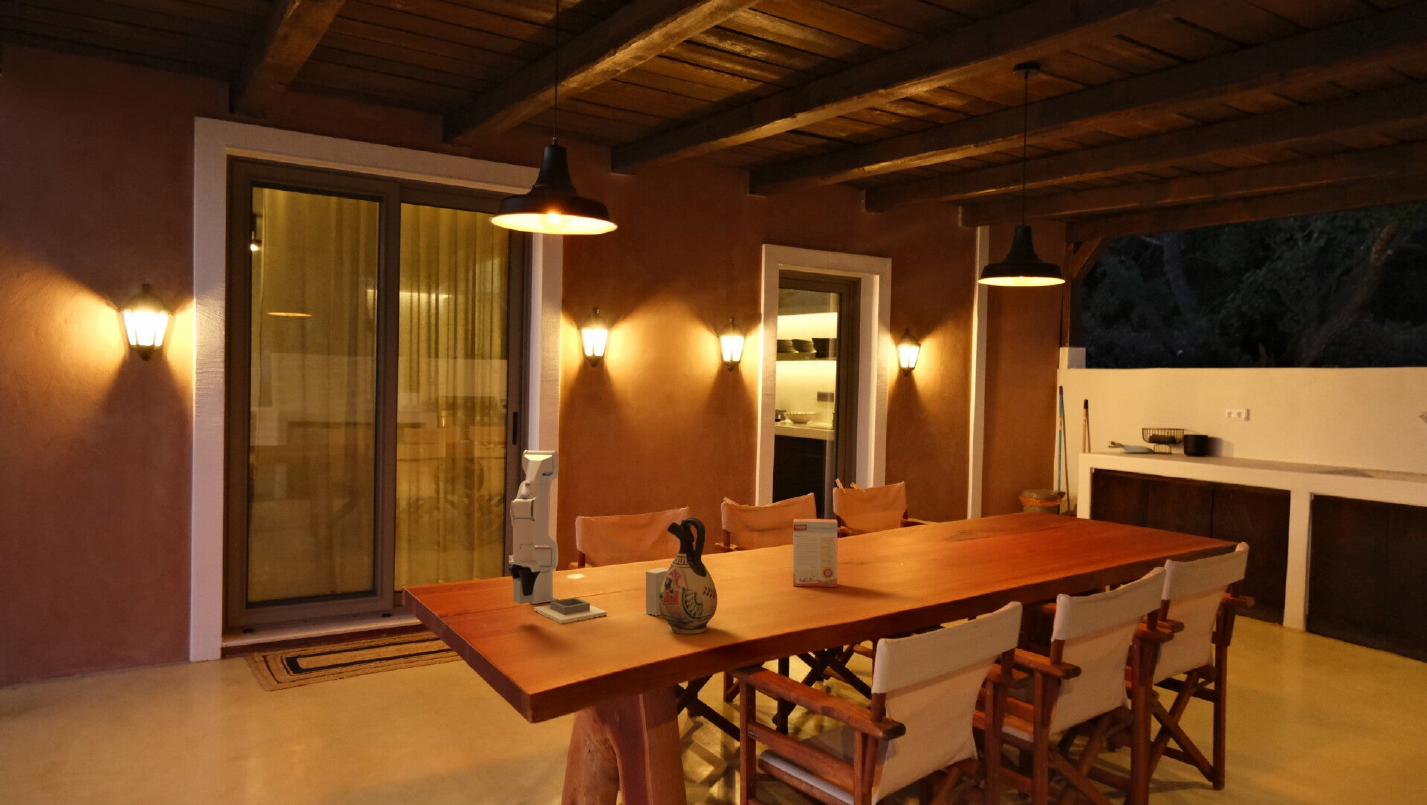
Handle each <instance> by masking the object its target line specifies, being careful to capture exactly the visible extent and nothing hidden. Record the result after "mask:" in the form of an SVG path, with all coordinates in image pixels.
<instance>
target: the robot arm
mask: <svg viewBox="0 0 1427 805" xmlns="http://www.w3.org/2000/svg"><path fill="white" fill-rule="evenodd" d="M559 461H560V460H559V452H558V451H557V450H556V449H554V450H531V449H530V450H528V449H525V450H524V451H523V453H522V457H521V462H522V464H521V465H522V469H523V471H524V473H525V475H526V476H525V480H523V481H522V482H521V483H520V485H519V487H518V491H517V493H516V494H517V495H516V498H515V499H514V500H511V503H510V511H509V513H510V514H509V515H510V520H511V527H512V540H513V541H512V555H508V564H510V565H509V566H507V569H508V572H509V573H510V575H511V578H512V581H513V582H514V579H515V578H521V582H522V590H523V595H524V596H529V595H532V592H533V588H534V602H530V603H531V604H534V605H536V604H542V603H548V602H551V601H557V600H559V597H556V596H554V593H553V592H554V590H553V588H554V586H553V584H554V582H553V580H554V579H553V578H554V577H553V576H554V572H553V571H554V569H556V568H557V567H558V564H559V550H558V548H559V544H558V543H557V541H556V540H555V539H554V538H553V537H551V536H550V535H549V534H550V533H549V532H550V511H551V509H550V507H551V488H552V487H551V486H552V481H553V480H556V479H557V478H558V475H559V464H560V463H559ZM535 546H536V547H535ZM540 546H541V547H540ZM542 546H543V547H542ZM546 546H549V547H546Z"/></svg>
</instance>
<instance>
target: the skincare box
mask: <svg viewBox="0 0 1427 805" xmlns="http://www.w3.org/2000/svg"><path fill="white" fill-rule="evenodd" d="M668 569H669V568H663V567H658V568H653V569H650V570H646V571H645V615H646V614H647V615H650V614H652V615H651V616H654V615H655V616H654V617H657V615H658V616H661V615H662V614H661V612H660V608H659V593H660V588H661V584H662V580H663V578H664V576H665V574H666V572H667V571H668ZM660 614H661V615H660Z"/></svg>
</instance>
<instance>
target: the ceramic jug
mask: <svg viewBox="0 0 1427 805" xmlns="http://www.w3.org/2000/svg"><path fill="white" fill-rule="evenodd" d="M692 526H693V527H694V528H695V530H696V539H695V535H694V533H693V531H692V529H691V527H692ZM666 531H667V532H668V533H669V534H671V535H673V536H675V538H677V539H678V540H679V543H680V545H679V550H678V552H677V554H676V556H675V558H674V559H673V560H672V562H671V564H670V565H669V567H668V568H667V569H668V571H667V572H666V574H665V576H664V578H663V580H662V584H661V588H660V593H659V608H660V612H661V615H662V618H664V620H665V621H666V622H667V624H668V625H669V626H670V628H671V631H672V632H674V633H676V632H678V633H677V634H681V635H682V634H686V635H687V634H688V635H694V634H701V633H704V632H705V631H706V630H707V629H708V625H707V624H709V622H710V621H711V620H712V618H713V617H714V616H715V614H716V611H717V608H718V593H717V589H716V586H715V582H714V580H713V577H712V576H711V573H710V571H709V570H708V568H707V567H706V565H705V564H704V562H703V561H702V556H703V555H702V554H703V552H704V546H705V542H706V527H705V525H704V523H703V522H702V521H701V520H699V518H696V517H687V518H686V519H682V520H681V522H680V524H678V523H677V522H674V521H673V522H672V523H671V524H670V525H669V526H668V527H667V530H666ZM693 543H695V546H694V544H693ZM716 636H718V635H716Z"/></svg>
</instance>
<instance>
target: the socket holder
mask: <svg viewBox="0 0 1427 805" xmlns="http://www.w3.org/2000/svg"><path fill="white" fill-rule="evenodd" d="M549 602H550V603H549V604H545V605H540V606H534V607H533V611H534V612H535V611H537V612H538V614H540V615H542V616H543V617H547V618H548V617H549V618H548V619H550V620H551V621H554V620H555V622H556V621H557V623H559V624H561V625H562V623H563V624H568V623H572V622H578V621H577V620H579V621H583V620H590V619H593V618H592V617H596V618H600V617H599V616H601V617H604V616H603V615H606V616H607V615H608V613H607V611H606V610H603V609H601V608H599V607H596V606H594V605H592V604H591V603H590V602H588V601H585V600H583V599H580V598H578V597H571V598H564V599H558V600H555V601H549ZM537 612H536V613H537ZM589 618H590V619H589Z"/></svg>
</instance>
